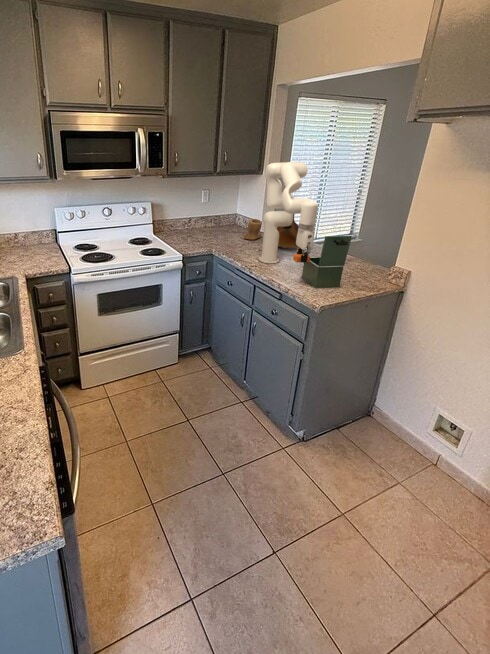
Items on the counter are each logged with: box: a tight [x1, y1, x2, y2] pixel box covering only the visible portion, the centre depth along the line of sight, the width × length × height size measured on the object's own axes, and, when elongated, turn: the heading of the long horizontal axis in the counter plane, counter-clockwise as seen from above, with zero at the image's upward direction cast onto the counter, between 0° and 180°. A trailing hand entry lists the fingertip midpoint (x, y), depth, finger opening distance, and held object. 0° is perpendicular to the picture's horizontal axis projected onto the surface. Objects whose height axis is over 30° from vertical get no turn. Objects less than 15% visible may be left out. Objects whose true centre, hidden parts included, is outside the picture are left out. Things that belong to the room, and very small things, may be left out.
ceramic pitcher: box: [276, 214, 299, 250], centre depth 249 cm, size 20×20×30 cm
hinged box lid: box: [319, 235, 353, 267], centre depth 178 cm, size 16×14×5 cm
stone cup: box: [243, 218, 263, 241], centre depth 272 cm, size 15×12×15 cm
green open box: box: [301, 256, 345, 289], centre depth 193 cm, size 16×14×12 cm
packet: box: [292, 253, 311, 264], centre depth 186 cm, size 7×4×3 cm, turn 96°
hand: (301, 260), depth 186 cm, fingers closed on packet, 4 cm apart
